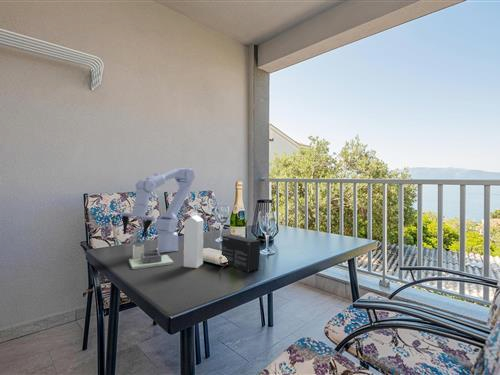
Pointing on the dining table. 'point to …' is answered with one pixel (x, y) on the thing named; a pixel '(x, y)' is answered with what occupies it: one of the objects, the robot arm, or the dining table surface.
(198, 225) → the milk
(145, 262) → the board
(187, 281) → the dining table surface
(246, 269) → the box
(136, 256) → the plug
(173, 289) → the dining table surface
